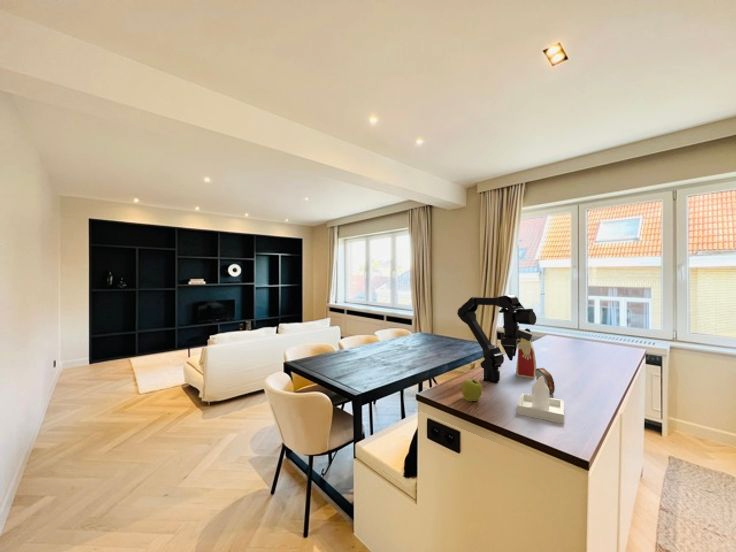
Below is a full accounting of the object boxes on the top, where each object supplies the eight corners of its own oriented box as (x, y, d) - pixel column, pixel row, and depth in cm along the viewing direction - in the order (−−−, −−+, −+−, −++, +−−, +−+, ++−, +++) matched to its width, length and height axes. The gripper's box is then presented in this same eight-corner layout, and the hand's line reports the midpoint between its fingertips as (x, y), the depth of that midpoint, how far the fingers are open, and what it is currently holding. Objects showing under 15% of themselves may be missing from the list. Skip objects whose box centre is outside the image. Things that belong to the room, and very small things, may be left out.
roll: (533, 371, 115) (550, 374, 111) (534, 403, 115) (551, 407, 111) (529, 375, 110) (547, 379, 107) (530, 408, 110) (547, 412, 107)
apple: (454, 396, 123) (460, 371, 124) (469, 398, 126) (474, 375, 127) (468, 403, 115) (474, 377, 117) (483, 406, 118) (489, 380, 120)
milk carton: (536, 373, 153) (536, 334, 153) (535, 378, 145) (534, 337, 145) (516, 370, 158) (516, 332, 158) (514, 375, 150) (514, 335, 150)
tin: (555, 396, 124) (555, 376, 124) (547, 396, 124) (546, 375, 124) (542, 383, 138) (541, 365, 139) (534, 383, 139) (534, 365, 139)
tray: (517, 413, 108) (517, 405, 108) (521, 400, 120) (521, 392, 120) (563, 423, 101) (563, 414, 101) (563, 408, 113) (563, 400, 113)
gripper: (528, 326, 123) (531, 365, 122) (532, 321, 138) (534, 355, 138) (499, 325, 129) (501, 362, 128) (506, 320, 145) (508, 353, 144)
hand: (512, 358), depth 134 cm, fingers open, 9 cm apart
